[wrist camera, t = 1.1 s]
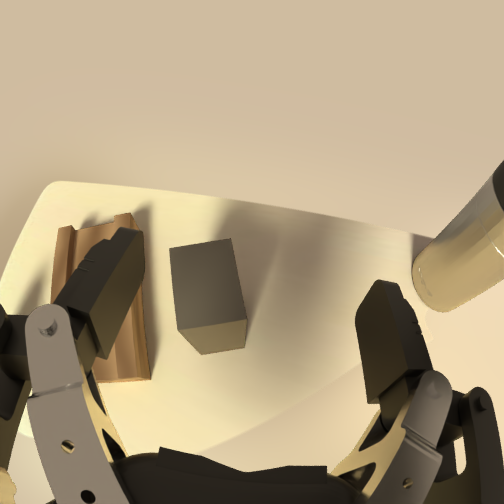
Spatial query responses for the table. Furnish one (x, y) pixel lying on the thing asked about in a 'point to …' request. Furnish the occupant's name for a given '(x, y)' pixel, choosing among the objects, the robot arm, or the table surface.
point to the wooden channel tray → (132, 330)
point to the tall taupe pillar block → (208, 296)
